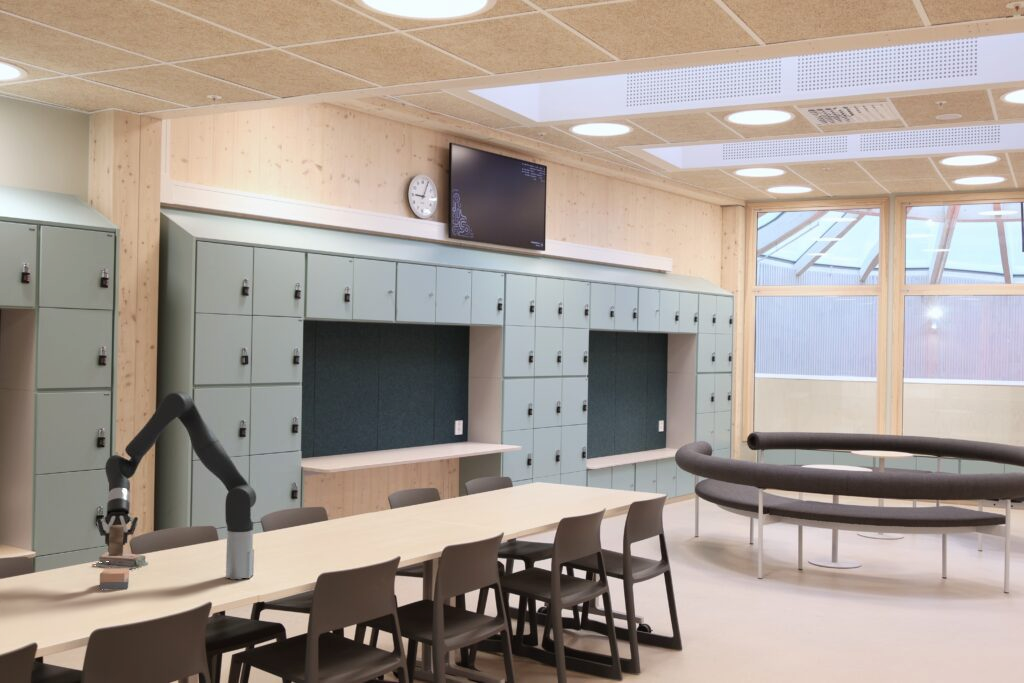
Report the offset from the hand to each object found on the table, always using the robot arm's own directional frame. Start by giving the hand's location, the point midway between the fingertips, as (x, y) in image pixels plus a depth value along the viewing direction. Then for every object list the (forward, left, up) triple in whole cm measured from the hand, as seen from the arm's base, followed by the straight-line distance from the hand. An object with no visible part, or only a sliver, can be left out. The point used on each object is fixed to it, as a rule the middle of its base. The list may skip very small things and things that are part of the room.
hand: (116, 543), depth 336 cm
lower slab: (+1, -2, -16) cm, 16 cm away
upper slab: (+1, -2, -13) cm, 13 cm away
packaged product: (+12, -35, -16) cm, 40 cm away
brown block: (+1, -2, -4) cm, 5 cm away
